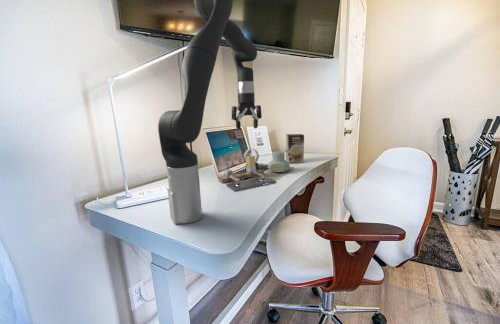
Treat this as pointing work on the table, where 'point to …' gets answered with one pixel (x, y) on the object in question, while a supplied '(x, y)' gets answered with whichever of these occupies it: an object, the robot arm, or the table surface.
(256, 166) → the watch
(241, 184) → the bolt plate
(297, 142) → the coffee box
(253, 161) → the sliding leg
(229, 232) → the table surface
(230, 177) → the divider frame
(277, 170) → the air freshener
